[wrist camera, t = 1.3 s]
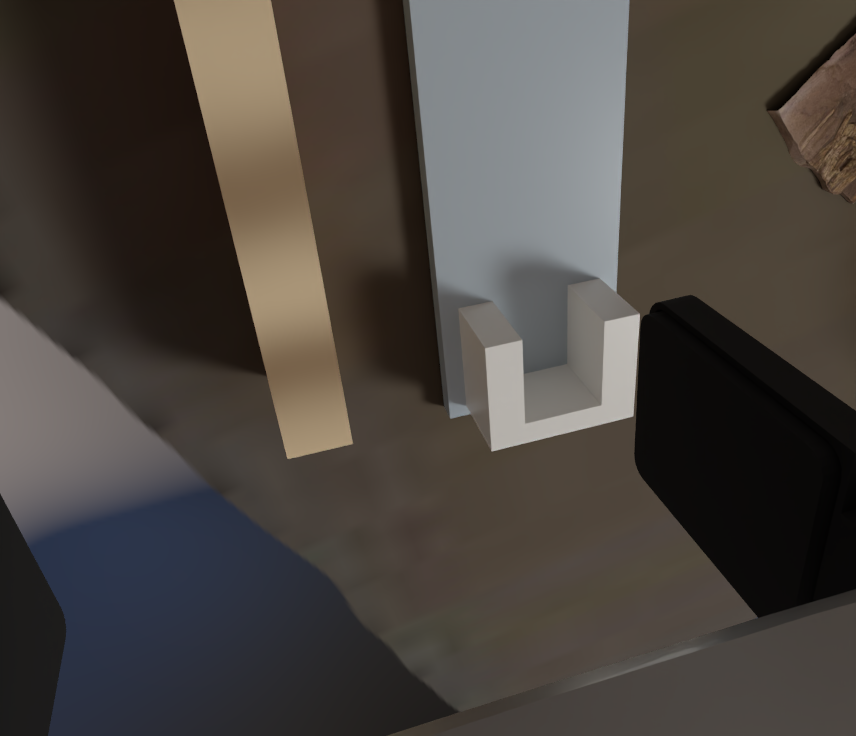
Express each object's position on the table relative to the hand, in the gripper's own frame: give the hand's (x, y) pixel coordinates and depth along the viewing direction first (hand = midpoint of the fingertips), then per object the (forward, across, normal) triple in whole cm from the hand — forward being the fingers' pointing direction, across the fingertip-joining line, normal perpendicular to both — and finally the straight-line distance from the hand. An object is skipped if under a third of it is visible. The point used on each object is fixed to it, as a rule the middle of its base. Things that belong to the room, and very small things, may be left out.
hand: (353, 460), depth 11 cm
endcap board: (+19, -10, 0) cm, 22 cm away
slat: (+19, 0, 0) cm, 19 cm away
